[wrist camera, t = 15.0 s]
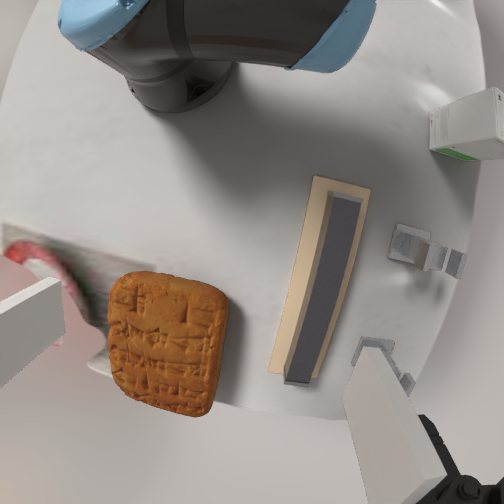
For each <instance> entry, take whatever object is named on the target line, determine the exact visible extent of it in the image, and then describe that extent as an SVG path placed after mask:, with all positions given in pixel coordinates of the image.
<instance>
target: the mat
mask: <svg viewBox="0 0 504 504" xmlns="http://www.w3.org/2000/svg"><path fill="white" fill-rule="evenodd" d="M328 191H335V192H339V193H343V194H347V195H351V196H355V197H359V198H363V199H364V200H363V204H362V203H361V208H360V212H359V217H358V221H357V226H356V230H355V234H354V238H353V243H352V247H351V251H350V255H349V258H348V262H347V266H346V270H345V273H344V277H343V281H342V284H341V288H340V291H339V295H338V298H337V301H336V305H335V308H334V311H333V314H332V318H331V321H330V324H329V327H328V330H327V333H326V336H325V339H324V342H323V345H322V348H321V351H320V354H319V357H318V359H317V362H316V365H315V368H314V370H313V373H312V376H311V378H317V375H318V373H319V370H320V367H321V365H322V362H323V359H324V357H325V354H326V351H327V348H328V345H329V343H330V340H331V337H332V334H333V331H334V328H335V325H336V322H337V319H338V316H339V312H340V309H341V306H342V303H343V300H344V296H345V293H346V289H347V286H348V283H349V279H350V276H351V272H352V268H353V265H354V261H355V257H356V253H357V249H358V245H359V241H360V237H361V233H362V229H363V225H364V220H365V216H366V211H367V206H368V202H369V197H370V192H371V189H367V188H363V187H360V186H356V185H352V184H348V183H344V182H340V181H336V180H332V179H328V178H324V177H319V176H315V175H314V176H313V181H312V187H311V192H310V197H309V201H308V206H307V211H306V216H305V221H304V225H303V230H302V235H301V239H300V244H299V248H298V253H297V257H296V261H295V266H294V270H293V274H292V279H291V283H290V287H289V291H288V295H287V299H286V303H285V307H284V311H283V315H282V319H281V323H280V327H279V331H278V335H277V339H276V342H275V346H274V350H273V354H272V357H271V361H270V365H269V368H268V372H274V373H280V374H283V366H284V365H285V362H286V359H287V355H288V352H289V349H290V345H291V342H292V338H293V335H294V331H295V328H296V324H297V321H298V317H299V313H300V310H301V306H302V302H303V299H304V295H305V291H306V287H307V283H308V279H309V275H310V271H311V267H312V263H313V259H314V255H315V250H316V246H317V242H318V237H319V233H320V229H321V224H322V220H323V215H324V210H325V205H326V201H327V196H328V195H327V192H328Z"/></svg>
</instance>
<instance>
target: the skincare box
mask: <svg viewBox="0 0 504 504" xmlns="http://www.w3.org/2000/svg"><path fill="white" fill-rule="evenodd" d="M429 118H430V139H429V149H430V150H432V151H436V152H439V153H442V154H445V155H448V156H452V157H455V158H458V159H461V160H463V161H478V160H492V159H504V92H502V91H500V90H498V89H497V88H496V87H491V88H489V89H486V90H484V91H481V92H479V93H476V94H473V95H471V96H468V97H465V98H463V99H460V100H458V101H455V102H453V103H450V104H448V105H445V106H443V107H440V108H438V109H435V110H433V111H430V112H429Z"/></svg>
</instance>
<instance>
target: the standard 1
mask: <svg viewBox="0 0 504 504" xmlns="http://www.w3.org/2000/svg"><path fill="white" fill-rule="evenodd" d="M394 344H395V342H394V341H393V340H385V339H376V338H367V337H361V339H360V341H359V344H358V347H357V349H356V352H355V354H354V357H353V359H352V362H351V364H352V366H355V365H356V363H357V361H358V358H359V356H360V353H361V351H362V348H363V346H365V347H375V348H380V349H381V351H382V353H383V355H384V356H385V358H386V360H387V361H388V363H389V365H390V366H391V368H392V370H393V372H394V373H395V375H396V377H397V379H398V377H399V376H400V374H401V372H400V371H399V369H398V367H397V366H396V364H395V362H394V361H393V359H392V358H391V356H390V353H391V351H392V349H393V346H394ZM400 384H401V386H402V388H403V389H404V391H405V393H406V395H407V397H408V396H409V395H410V393H411V391H412V389H413V388H414V386H415V384H416V383H415V381H414V379H413V378H412V376H411V375H410V373H405V374H404V376H403V378H402V380H401V382H400Z"/></svg>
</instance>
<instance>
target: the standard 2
mask: <svg viewBox="0 0 504 504" xmlns="http://www.w3.org/2000/svg"><path fill="white" fill-rule="evenodd" d="M430 235H431V233H430V232H427V231H424V230H420V229H417V228H413V227H410V226H406V225H403V224H399V223H396V224H395V228H394V232H393V236H392V240H391V244H390V248H389V252H388V256H387V257H389V258H392V259H396V260H400V261H405V262H409V263H414V264H413V265H414V266H416V267H418V268H419V269H421V270H422V271H426V272H428V271H429V269H434V270H438V271H441V270H442V267H443V263H444V260H445V256H446V252H447V249H448V248H447V247H444V246H442V245H440V244H437V243H435V242H432V241H430V240H429V239H430ZM466 257H467V255H466V254H463V253H461V252H459V251H456V250H453V249H452V250H451V254H450V258H449V261H448V265H447V268H446V273H448V274H449V275H451V276H453V277H454V278H457V279H460V278H461V274H462V271H463V268H464V264H465V261H466Z"/></svg>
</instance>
